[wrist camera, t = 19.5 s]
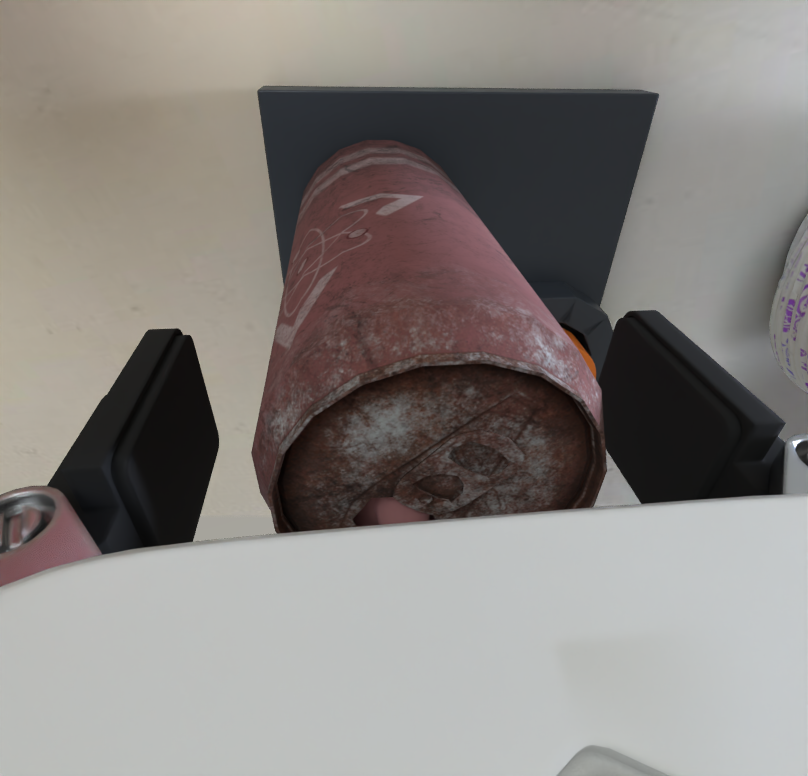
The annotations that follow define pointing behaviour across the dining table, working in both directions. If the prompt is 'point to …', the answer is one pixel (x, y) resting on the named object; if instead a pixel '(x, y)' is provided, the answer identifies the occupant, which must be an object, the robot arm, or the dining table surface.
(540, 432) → the can
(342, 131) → the scale
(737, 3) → the dining table surface
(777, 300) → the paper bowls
